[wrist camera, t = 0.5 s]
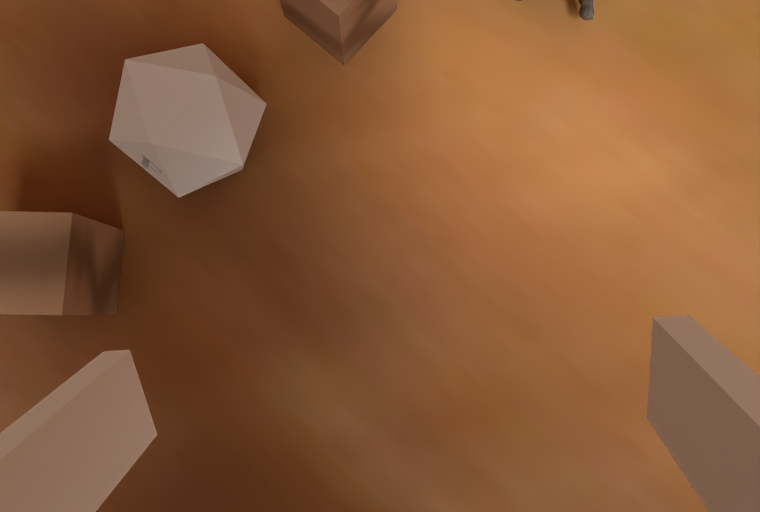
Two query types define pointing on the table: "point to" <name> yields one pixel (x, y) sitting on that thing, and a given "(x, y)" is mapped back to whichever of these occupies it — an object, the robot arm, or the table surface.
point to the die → (185, 117)
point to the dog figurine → (585, 9)
